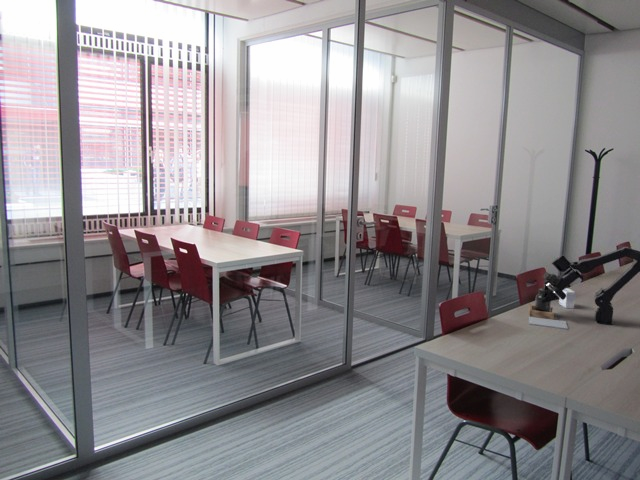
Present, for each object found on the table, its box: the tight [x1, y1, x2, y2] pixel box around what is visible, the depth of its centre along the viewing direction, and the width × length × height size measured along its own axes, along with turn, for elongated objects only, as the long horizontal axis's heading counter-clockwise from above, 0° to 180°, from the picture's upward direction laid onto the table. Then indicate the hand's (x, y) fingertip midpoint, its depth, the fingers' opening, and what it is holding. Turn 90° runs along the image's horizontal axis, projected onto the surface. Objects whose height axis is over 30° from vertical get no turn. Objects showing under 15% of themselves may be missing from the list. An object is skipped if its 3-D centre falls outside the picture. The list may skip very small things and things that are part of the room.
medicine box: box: [558, 287, 576, 309], centre depth 264 cm, size 8×4×9 cm, turn 179°
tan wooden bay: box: [528, 304, 555, 320], centre depth 248 cm, size 10×11×3 cm
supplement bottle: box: [534, 288, 552, 312], centre depth 247 cm, size 7×7×12 cm
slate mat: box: [528, 316, 569, 330], centre depth 235 cm, size 16×11×1 cm
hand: (540, 300), depth 247 cm, fingers closed on supplement bottle, 6 cm apart
